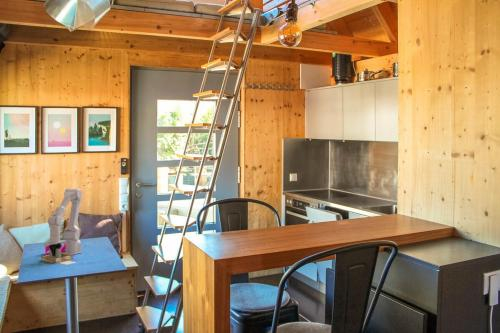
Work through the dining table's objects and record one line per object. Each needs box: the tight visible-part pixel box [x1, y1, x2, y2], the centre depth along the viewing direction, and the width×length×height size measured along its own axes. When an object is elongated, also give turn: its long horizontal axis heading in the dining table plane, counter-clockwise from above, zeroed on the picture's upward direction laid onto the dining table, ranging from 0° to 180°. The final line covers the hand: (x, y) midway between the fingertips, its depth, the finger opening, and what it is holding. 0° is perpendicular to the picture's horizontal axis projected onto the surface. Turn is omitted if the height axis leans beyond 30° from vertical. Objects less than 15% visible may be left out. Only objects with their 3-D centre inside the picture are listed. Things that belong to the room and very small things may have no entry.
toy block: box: [44, 243, 66, 256], centre depth 305 cm, size 15×6×8 cm, turn 118°
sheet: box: [49, 249, 61, 259], centre depth 284 cm, size 1×10×6 cm, turn 57°
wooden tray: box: [40, 254, 74, 265], centre depth 285 cm, size 13×14×3 cm
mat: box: [59, 260, 77, 266], centre depth 278 cm, size 9×8×1 cm
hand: (55, 255), depth 284 cm, fingers closed on sheet
